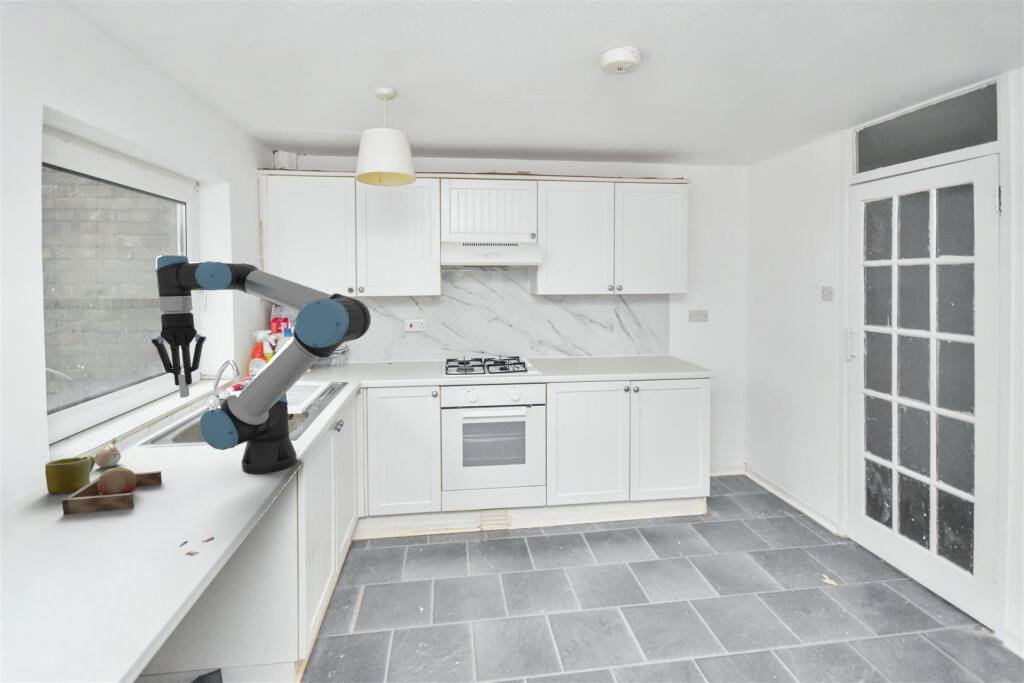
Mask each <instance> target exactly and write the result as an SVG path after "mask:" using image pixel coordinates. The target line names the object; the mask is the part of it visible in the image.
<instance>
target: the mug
mask: <svg viewBox="0 0 1024 683" xmlns="http://www.w3.org/2000/svg"><path fill="white" fill-rule="evenodd" d="M94 457H95V456H93V455H85V456H82V457H78V456H77V457H68V458H67V457H66V458H60V459H54V460H51V461H48V462H46V463H45V464H44V465H45V466H44V467H45V468H44V470H45V472H44V473H45V481H46V482H45V483H46V488H47V492H48V493H50V494H51V495H55V494H57V495H58V494H59V495H60V494H66V493H75V492H76V491H78V490H79V489H81V488H83V487H84V486H86V485H87V484H89V483H90V482H91V479H90V478H91V477H90V475H91V472H92V471H93V470H94V466H95V465H96V463H95V459H94Z"/></svg>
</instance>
